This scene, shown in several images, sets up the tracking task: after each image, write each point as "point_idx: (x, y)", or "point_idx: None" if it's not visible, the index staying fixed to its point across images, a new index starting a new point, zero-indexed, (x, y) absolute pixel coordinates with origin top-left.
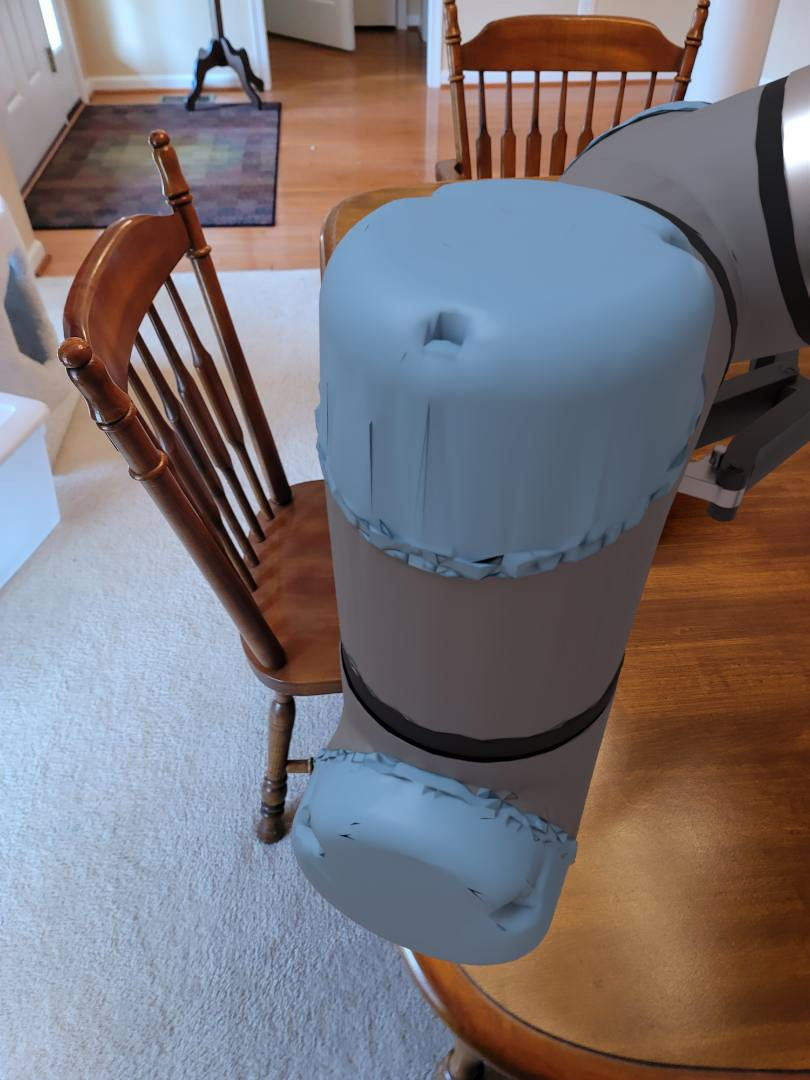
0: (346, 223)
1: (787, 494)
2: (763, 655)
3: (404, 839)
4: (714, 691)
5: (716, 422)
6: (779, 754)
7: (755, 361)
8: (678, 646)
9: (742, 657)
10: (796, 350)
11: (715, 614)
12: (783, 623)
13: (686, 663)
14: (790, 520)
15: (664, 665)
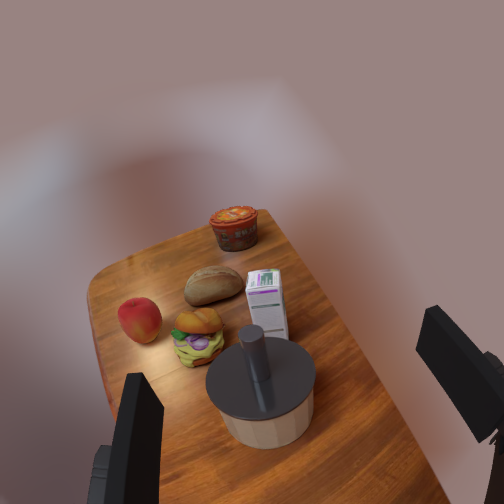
0: (92, 288)
1: (354, 350)
2: (399, 448)
3: None
4: (390, 485)
5: None
6: (433, 491)
7: (493, 410)
8: (360, 473)
9: (392, 457)
10: (500, 364)
11: (366, 442)
12: (397, 424)
13: (370, 480)
14: (364, 364)
15: (360, 489)
